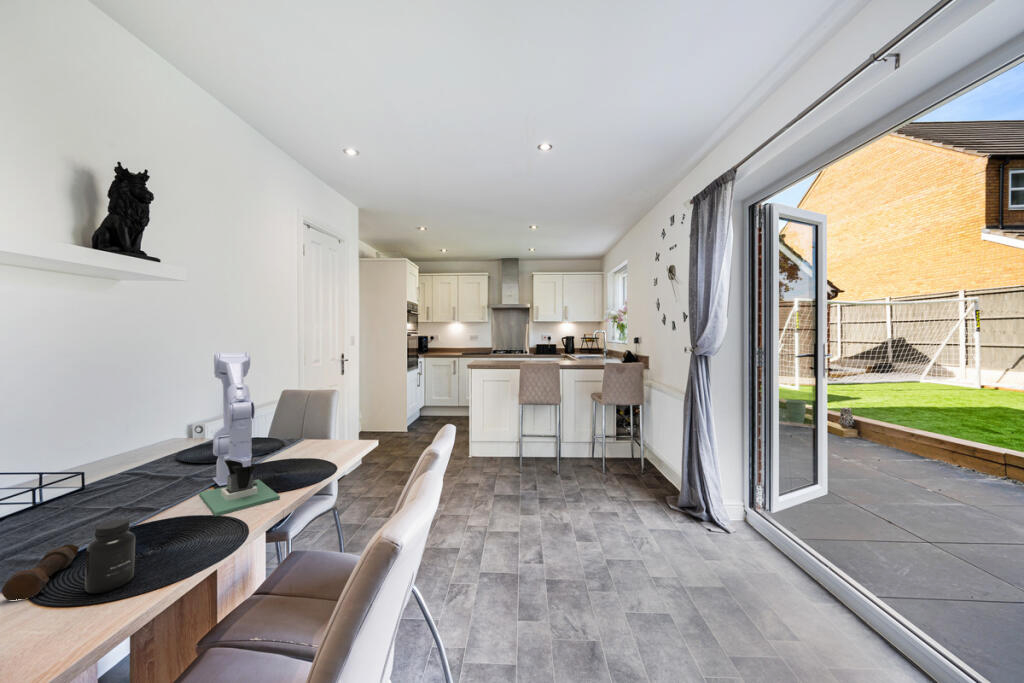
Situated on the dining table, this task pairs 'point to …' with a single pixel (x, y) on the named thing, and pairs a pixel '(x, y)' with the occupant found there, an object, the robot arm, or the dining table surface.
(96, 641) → the dining table surface
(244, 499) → the header board
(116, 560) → the supplement bottle
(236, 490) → the plug
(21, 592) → the brown elongated piece
